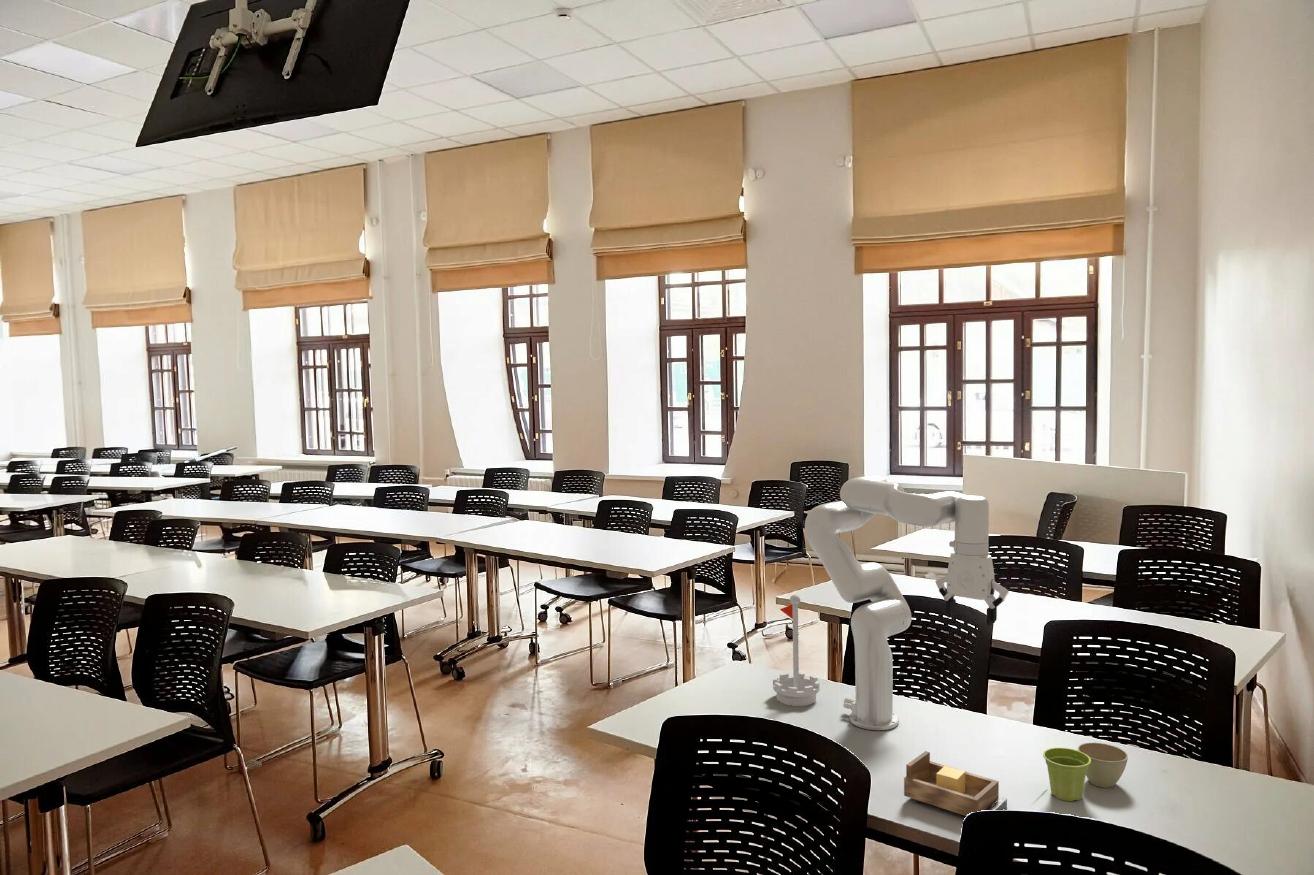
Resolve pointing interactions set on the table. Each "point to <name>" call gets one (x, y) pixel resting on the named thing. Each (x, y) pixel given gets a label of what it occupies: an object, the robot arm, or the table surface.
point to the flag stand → (795, 670)
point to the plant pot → (1066, 772)
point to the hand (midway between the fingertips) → (970, 620)
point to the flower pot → (1104, 763)
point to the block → (951, 779)
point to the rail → (999, 804)
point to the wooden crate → (924, 789)
